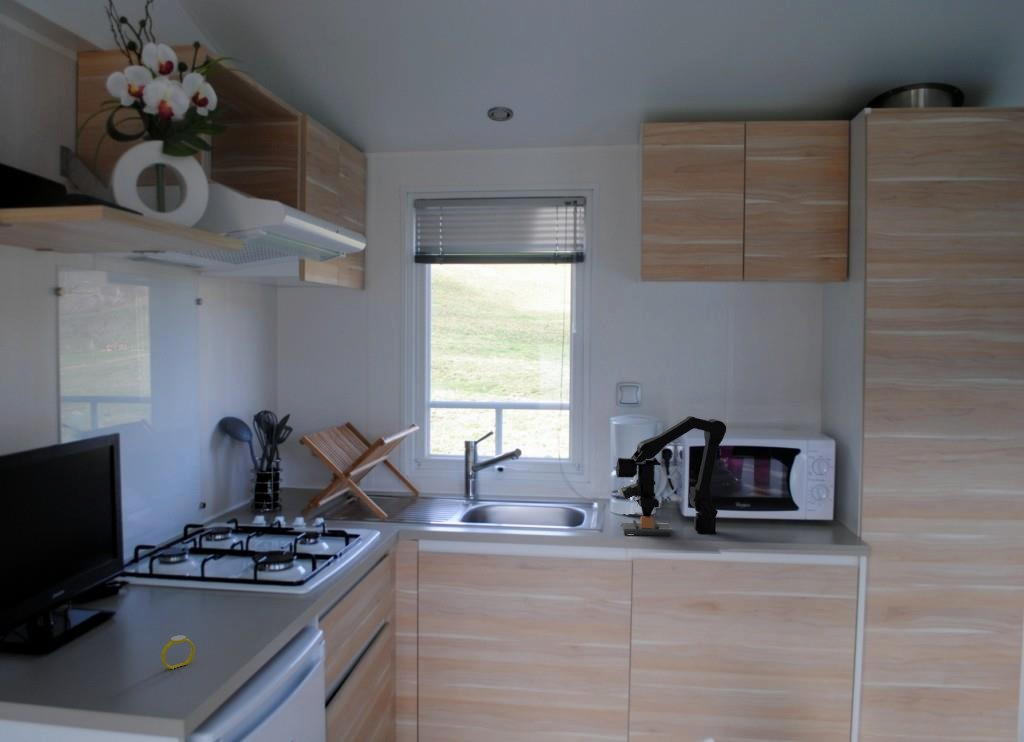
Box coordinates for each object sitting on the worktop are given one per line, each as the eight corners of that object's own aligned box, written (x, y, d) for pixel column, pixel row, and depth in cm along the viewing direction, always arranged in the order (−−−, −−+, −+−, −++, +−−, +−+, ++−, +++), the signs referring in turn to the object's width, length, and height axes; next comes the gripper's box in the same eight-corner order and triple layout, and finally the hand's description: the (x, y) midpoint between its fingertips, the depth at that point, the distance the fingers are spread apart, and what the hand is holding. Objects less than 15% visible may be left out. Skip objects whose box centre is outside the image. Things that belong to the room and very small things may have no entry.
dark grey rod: (669, 535, 238) (669, 531, 238) (670, 536, 236) (670, 532, 236) (623, 534, 238) (623, 531, 238) (624, 535, 237) (624, 532, 237)
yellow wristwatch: (190, 661, 141) (192, 632, 141) (195, 666, 139) (197, 636, 139) (159, 668, 137) (161, 638, 137) (163, 673, 135) (165, 642, 135)
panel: (668, 529, 246) (668, 520, 246) (672, 535, 238) (672, 526, 238) (621, 528, 247) (621, 520, 246) (623, 534, 239) (624, 525, 238)
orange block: (652, 526, 241) (652, 516, 241) (653, 528, 238) (653, 518, 238) (640, 526, 241) (640, 516, 241) (641, 528, 238) (641, 517, 238)
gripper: (620, 472, 251) (619, 514, 252) (625, 482, 233) (625, 528, 233) (651, 472, 251) (650, 515, 251) (659, 482, 232) (658, 529, 233)
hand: (645, 521), depth 242 cm, fingers closed
